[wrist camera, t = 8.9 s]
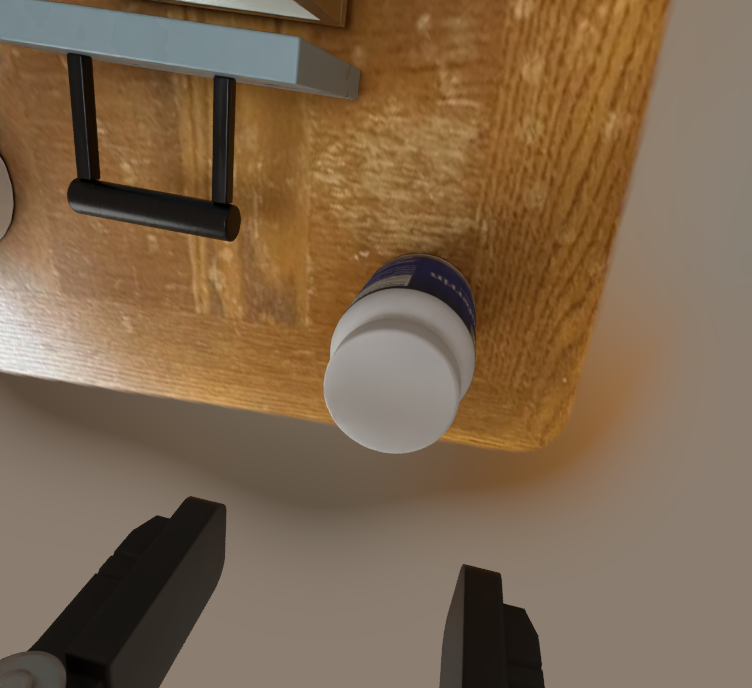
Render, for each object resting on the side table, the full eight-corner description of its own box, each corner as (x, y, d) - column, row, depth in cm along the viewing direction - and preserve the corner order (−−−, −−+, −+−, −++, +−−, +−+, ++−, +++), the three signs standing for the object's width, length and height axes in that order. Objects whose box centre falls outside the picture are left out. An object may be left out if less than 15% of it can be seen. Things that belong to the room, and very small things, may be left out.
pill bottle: (494, 331, 26) (504, 436, 17) (396, 373, 28) (358, 488, 19) (444, 229, 25) (425, 286, 16) (343, 281, 27) (276, 358, 18)
